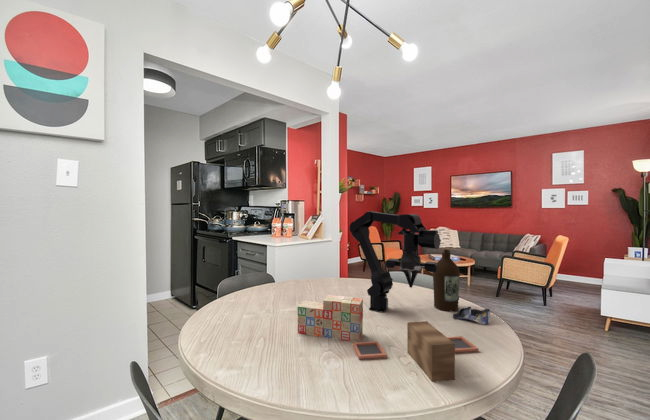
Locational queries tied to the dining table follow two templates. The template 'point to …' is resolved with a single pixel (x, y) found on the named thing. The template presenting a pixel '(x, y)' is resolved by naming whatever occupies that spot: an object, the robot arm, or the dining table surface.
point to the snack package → (474, 315)
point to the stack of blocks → (332, 318)
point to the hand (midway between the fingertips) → (410, 287)
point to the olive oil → (446, 283)
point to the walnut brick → (431, 351)
